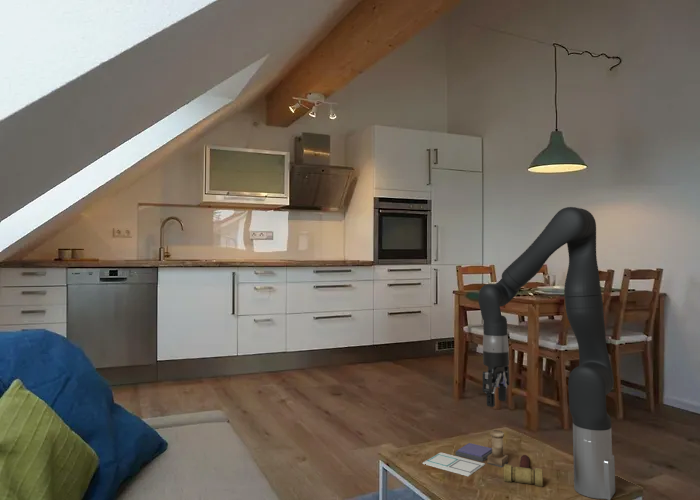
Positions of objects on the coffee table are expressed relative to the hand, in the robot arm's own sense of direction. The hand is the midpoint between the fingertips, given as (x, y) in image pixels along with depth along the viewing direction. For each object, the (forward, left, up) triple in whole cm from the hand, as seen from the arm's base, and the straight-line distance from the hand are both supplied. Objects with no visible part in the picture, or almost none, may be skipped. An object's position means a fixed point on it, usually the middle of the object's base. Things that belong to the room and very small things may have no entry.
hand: (496, 403), depth 153 cm
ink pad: (+9, -3, -18) cm, 20 cm away
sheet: (+10, +9, -18) cm, 22 cm away
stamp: (0, 0, -18) cm, 18 cm away
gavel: (-8, +1, -18) cm, 20 cm away
